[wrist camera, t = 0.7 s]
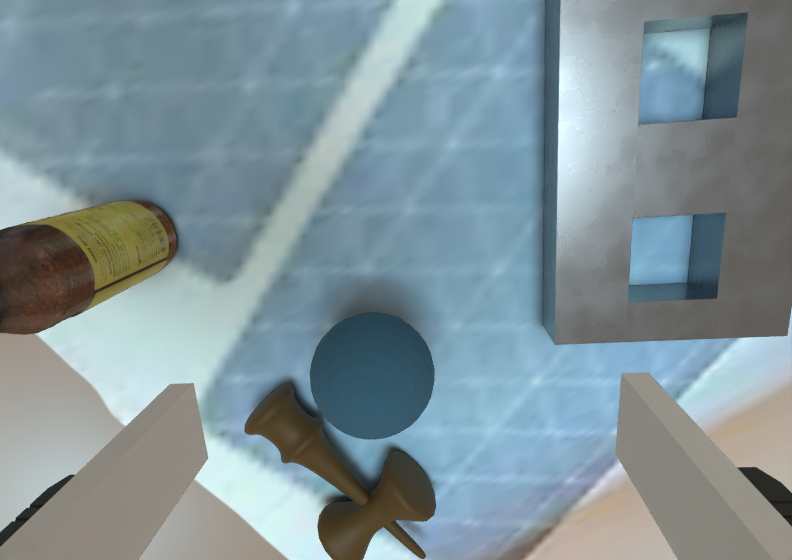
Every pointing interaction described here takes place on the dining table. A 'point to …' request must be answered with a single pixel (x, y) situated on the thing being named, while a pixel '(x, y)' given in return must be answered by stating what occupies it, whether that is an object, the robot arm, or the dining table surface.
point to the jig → (667, 173)
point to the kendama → (345, 480)
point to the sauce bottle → (78, 261)
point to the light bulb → (372, 376)
